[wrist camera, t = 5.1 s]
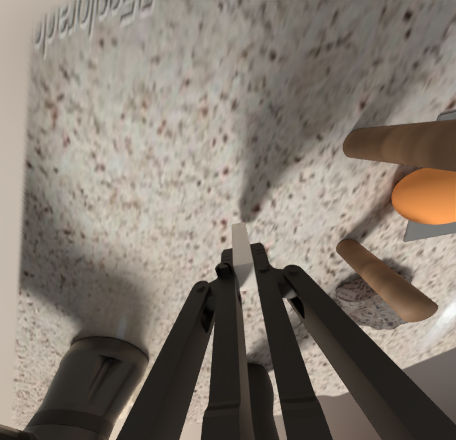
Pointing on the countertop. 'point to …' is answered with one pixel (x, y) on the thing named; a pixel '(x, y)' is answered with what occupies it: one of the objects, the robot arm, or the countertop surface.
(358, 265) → the post
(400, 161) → the post
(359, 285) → the rock
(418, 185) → the ball
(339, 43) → the countertop surface
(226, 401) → the robot arm
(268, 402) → the cola bottle
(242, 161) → the countertop surface
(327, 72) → the countertop surface
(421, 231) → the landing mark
